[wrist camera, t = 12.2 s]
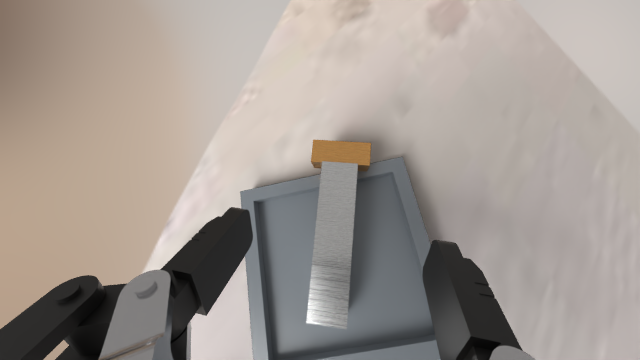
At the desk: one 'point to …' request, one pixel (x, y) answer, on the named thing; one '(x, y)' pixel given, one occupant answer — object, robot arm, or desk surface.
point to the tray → (365, 278)
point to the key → (334, 229)
